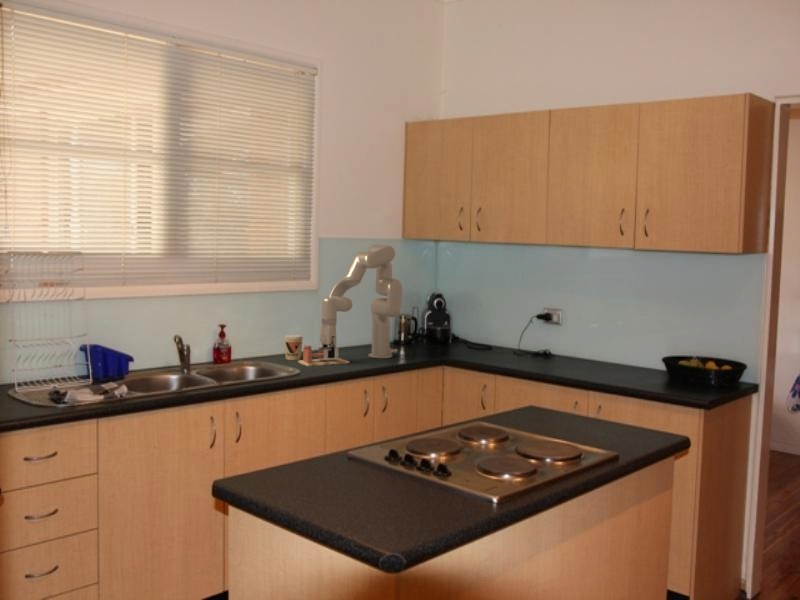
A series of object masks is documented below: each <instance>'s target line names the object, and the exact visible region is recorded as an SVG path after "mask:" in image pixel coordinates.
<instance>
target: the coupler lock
mask: <svg viewBox="0 0 800 600" xmlns="http://www.w3.org/2000/svg"><path fill="white" fill-rule="evenodd" d="M317 353H323V356H318V357H317V359H322V360H333V359H338V358H339V348H337V347H335V358H328V354H329V346H328V347H322V346H321V347H318V352H317Z"/></svg>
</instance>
